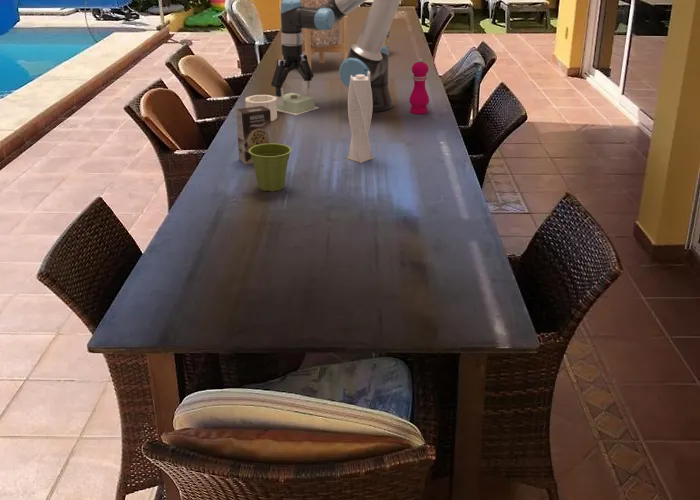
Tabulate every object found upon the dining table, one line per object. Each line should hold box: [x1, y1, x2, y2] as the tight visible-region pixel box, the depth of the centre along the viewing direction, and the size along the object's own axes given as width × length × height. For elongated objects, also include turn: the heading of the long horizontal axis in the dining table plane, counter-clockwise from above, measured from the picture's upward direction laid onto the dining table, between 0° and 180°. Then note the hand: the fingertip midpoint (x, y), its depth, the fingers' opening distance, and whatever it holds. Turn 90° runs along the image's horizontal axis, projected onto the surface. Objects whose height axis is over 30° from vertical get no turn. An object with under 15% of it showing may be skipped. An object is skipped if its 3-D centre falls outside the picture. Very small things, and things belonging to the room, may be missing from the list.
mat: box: [277, 106, 320, 116], centre depth 298 cm, size 14×13×1 cm
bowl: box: [244, 94, 278, 122], centre depth 284 cm, size 11×11×8 cm
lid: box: [275, 92, 316, 115], centre depth 297 cm, size 12×10×5 cm
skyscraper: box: [344, 71, 377, 164], centre depth 239 cm, size 8×8×28 cm
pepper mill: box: [408, 57, 430, 115], centre depth 289 cm, size 7×7×20 cm
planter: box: [280, 0, 349, 69], centre depth 352 cm, size 22×23×32 cm
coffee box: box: [235, 106, 273, 165], centre depth 242 cm, size 9×6×16 cm
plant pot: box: [249, 142, 292, 192], centre depth 221 cm, size 12×12×11 cm
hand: (293, 101), depth 297 cm, fingers open, 13 cm apart
